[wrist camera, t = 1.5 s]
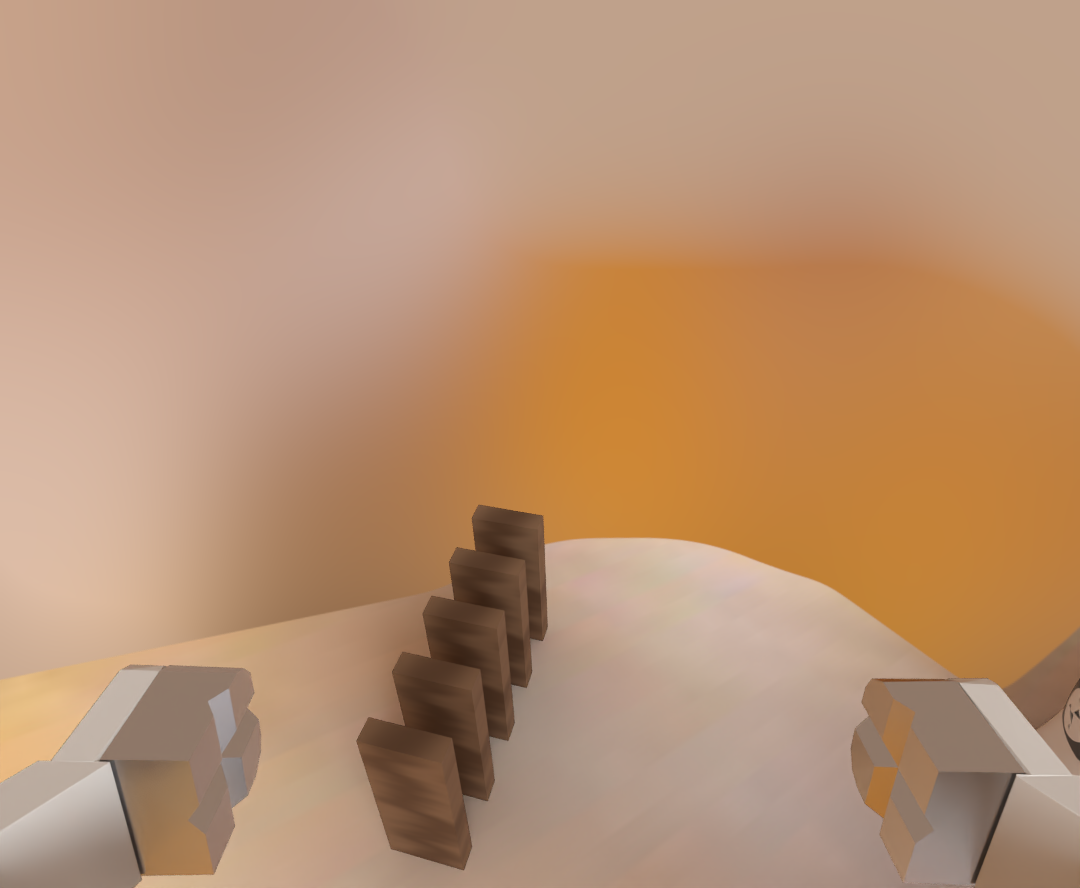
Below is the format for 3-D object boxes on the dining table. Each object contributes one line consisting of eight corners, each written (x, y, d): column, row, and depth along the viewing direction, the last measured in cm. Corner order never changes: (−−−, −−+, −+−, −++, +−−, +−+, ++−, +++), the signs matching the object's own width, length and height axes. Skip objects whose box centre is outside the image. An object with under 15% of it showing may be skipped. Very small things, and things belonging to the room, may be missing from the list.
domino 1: (547, 626, 75) (543, 515, 66) (542, 641, 73) (537, 529, 64) (490, 615, 76) (478, 504, 67) (484, 628, 75) (471, 518, 66)
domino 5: (471, 846, 58) (451, 738, 49) (463, 870, 57) (441, 763, 48) (400, 826, 59) (368, 717, 50) (391, 848, 58) (356, 741, 49)
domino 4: (494, 780, 62) (480, 669, 53) (487, 801, 61) (471, 690, 52) (427, 762, 64) (402, 651, 55) (419, 782, 62) (392, 672, 53)
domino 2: (532, 671, 71) (525, 560, 61) (526, 687, 69) (518, 575, 60) (472, 658, 72) (456, 547, 63) (465, 673, 71) (448, 562, 62)
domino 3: (514, 722, 66) (504, 610, 57) (508, 740, 65) (496, 628, 56) (451, 707, 68) (431, 595, 59) (444, 724, 66) (422, 613, 57)
